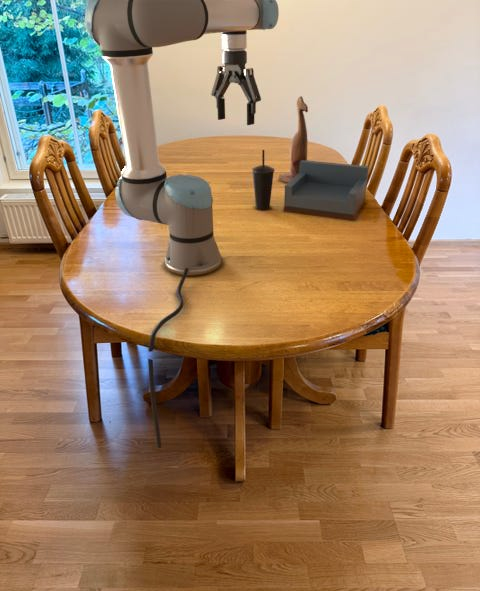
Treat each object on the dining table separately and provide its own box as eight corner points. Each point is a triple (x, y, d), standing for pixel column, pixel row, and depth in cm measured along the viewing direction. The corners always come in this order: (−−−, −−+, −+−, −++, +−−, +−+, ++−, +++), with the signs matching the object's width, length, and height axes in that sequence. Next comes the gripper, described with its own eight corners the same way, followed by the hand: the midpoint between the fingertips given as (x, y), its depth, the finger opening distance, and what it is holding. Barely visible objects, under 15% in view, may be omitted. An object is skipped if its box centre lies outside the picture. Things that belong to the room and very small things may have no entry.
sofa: (353, 220, 160) (357, 181, 153) (283, 211, 168) (285, 173, 162) (364, 202, 175) (368, 166, 168) (300, 194, 183) (302, 159, 177)
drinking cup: (271, 212, 168) (273, 153, 157) (250, 211, 169) (249, 152, 159) (275, 204, 174) (276, 147, 164) (253, 203, 175) (254, 146, 165)
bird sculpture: (297, 187, 191) (302, 100, 175) (277, 180, 199) (279, 96, 182) (317, 181, 197) (323, 96, 181) (296, 175, 205) (300, 93, 188)
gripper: (273, 50, 145) (271, 125, 156) (216, 47, 161) (218, 115, 171) (255, 52, 141) (255, 128, 151) (198, 49, 156) (202, 118, 167)
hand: (235, 121), depth 161 cm, fingers open, 13 cm apart
